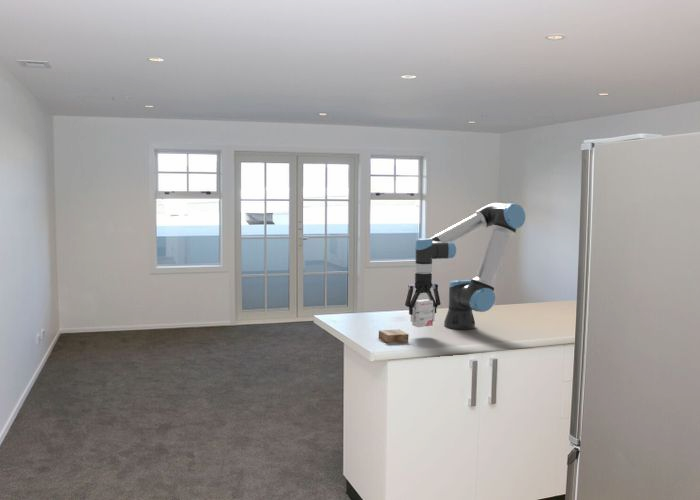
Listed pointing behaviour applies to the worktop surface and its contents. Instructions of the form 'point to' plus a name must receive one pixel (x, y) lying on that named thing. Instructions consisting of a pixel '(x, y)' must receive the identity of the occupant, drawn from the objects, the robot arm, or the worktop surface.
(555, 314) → the worktop surface
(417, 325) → the ink box
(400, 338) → the walnut block
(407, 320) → the worktop surface
